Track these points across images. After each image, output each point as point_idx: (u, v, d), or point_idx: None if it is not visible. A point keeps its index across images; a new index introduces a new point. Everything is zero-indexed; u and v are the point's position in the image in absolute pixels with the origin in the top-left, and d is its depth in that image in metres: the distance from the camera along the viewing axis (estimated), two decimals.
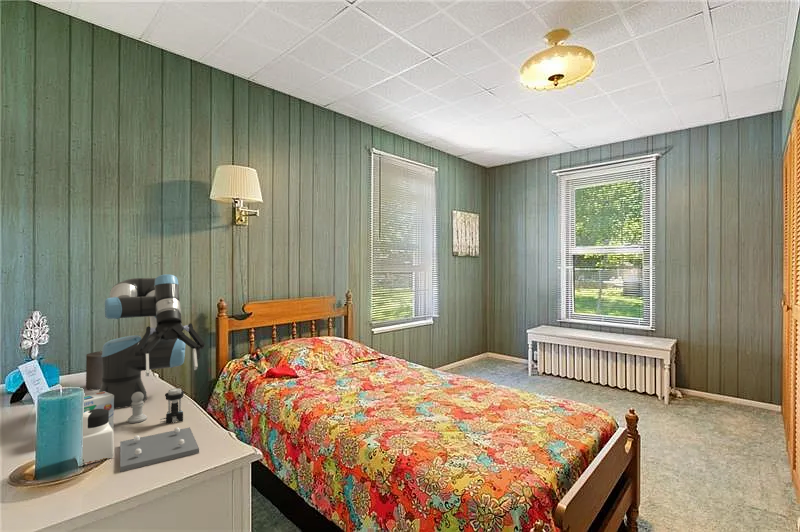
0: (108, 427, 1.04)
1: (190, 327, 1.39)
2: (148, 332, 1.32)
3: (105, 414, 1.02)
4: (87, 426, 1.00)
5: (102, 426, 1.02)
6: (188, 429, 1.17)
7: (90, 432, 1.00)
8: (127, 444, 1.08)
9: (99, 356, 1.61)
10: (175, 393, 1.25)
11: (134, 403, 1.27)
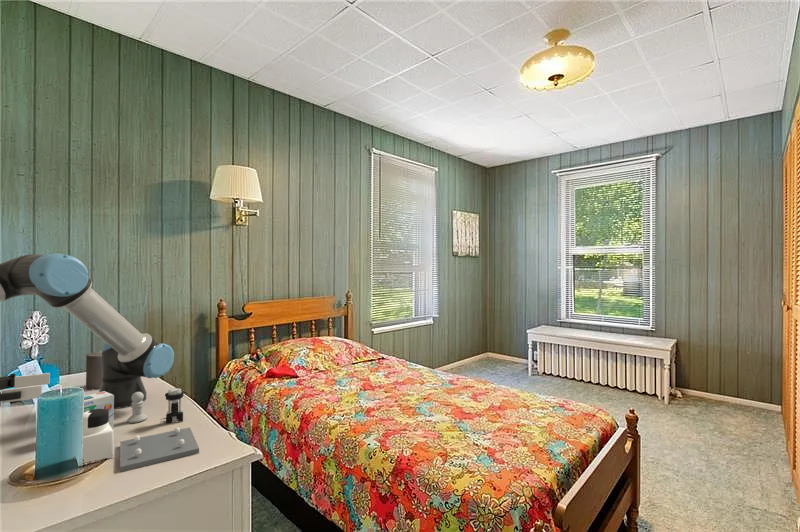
0: (108, 427, 1.04)
1: None
2: None
3: (105, 414, 1.02)
4: (87, 426, 1.00)
5: (102, 426, 1.02)
6: (188, 429, 1.17)
7: (90, 432, 1.00)
8: (127, 444, 1.08)
9: (99, 356, 1.61)
10: (175, 393, 1.26)
11: (134, 403, 1.27)
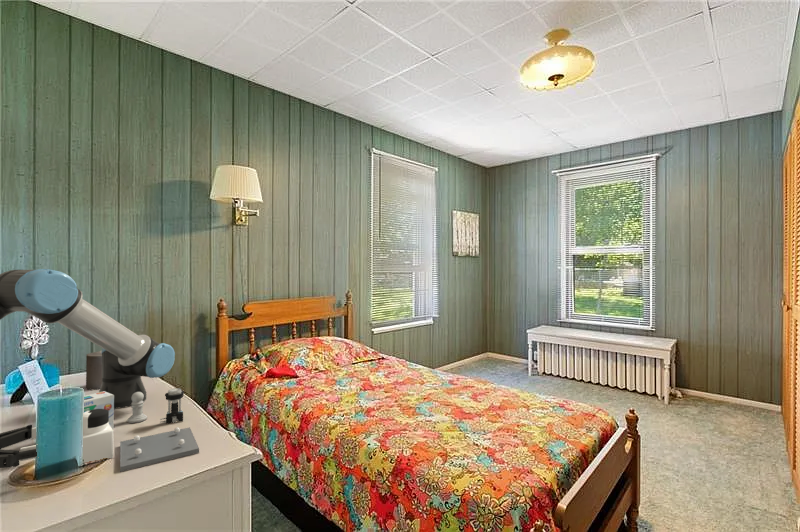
0: (108, 427, 1.04)
1: None
2: None
3: (105, 414, 1.02)
4: (87, 426, 1.00)
5: (102, 426, 1.02)
6: (188, 429, 1.17)
7: (90, 432, 1.00)
8: (127, 444, 1.08)
9: (99, 356, 1.61)
10: (175, 393, 1.25)
11: (134, 403, 1.27)
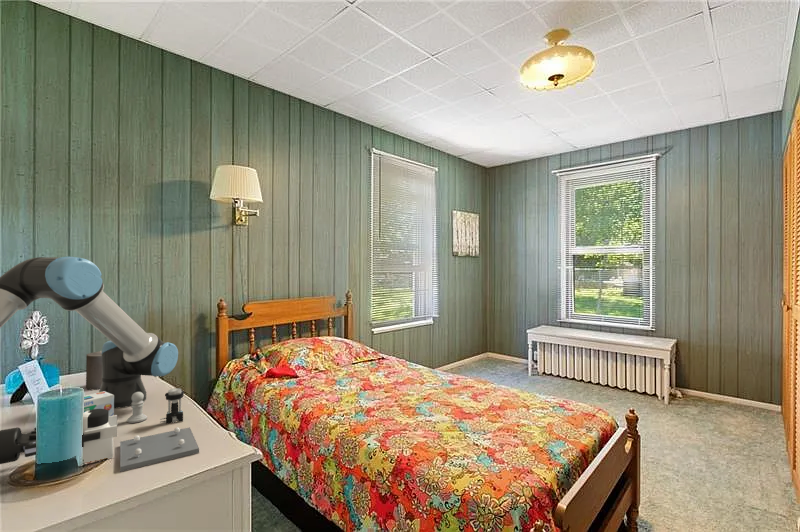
0: None
1: None
2: None
3: (105, 414, 1.02)
4: (86, 426, 0.99)
5: (102, 426, 1.02)
6: (188, 429, 1.17)
7: None
8: (127, 444, 1.08)
9: (99, 356, 1.61)
10: (175, 393, 1.26)
11: (134, 403, 1.27)
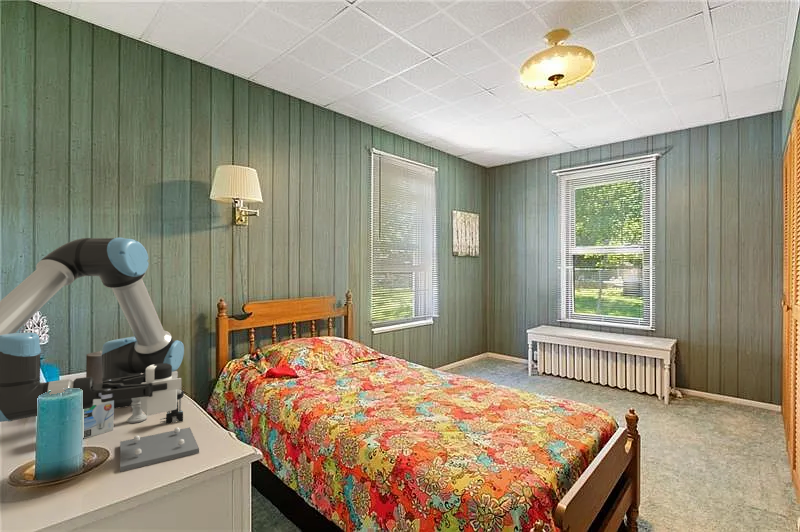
0: None
1: None
2: None
3: (169, 367, 1.07)
4: (153, 378, 1.04)
5: (167, 378, 1.06)
6: (188, 429, 1.17)
7: None
8: (127, 444, 1.08)
9: (99, 356, 1.61)
10: None
11: (134, 403, 1.27)
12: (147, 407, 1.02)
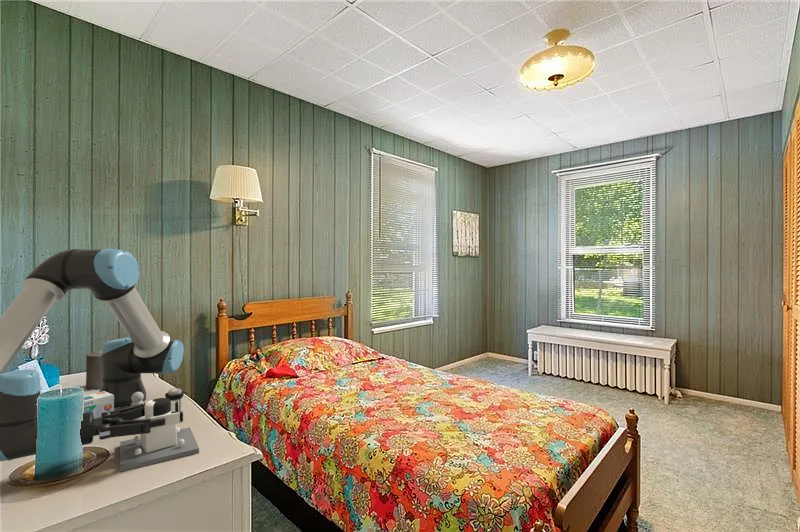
0: None
1: None
2: None
3: (168, 403, 1.07)
4: (152, 414, 1.04)
5: None
6: (188, 429, 1.17)
7: None
8: (127, 444, 1.08)
9: (99, 356, 1.61)
10: (175, 393, 1.25)
11: (134, 403, 1.27)
12: (146, 444, 1.02)
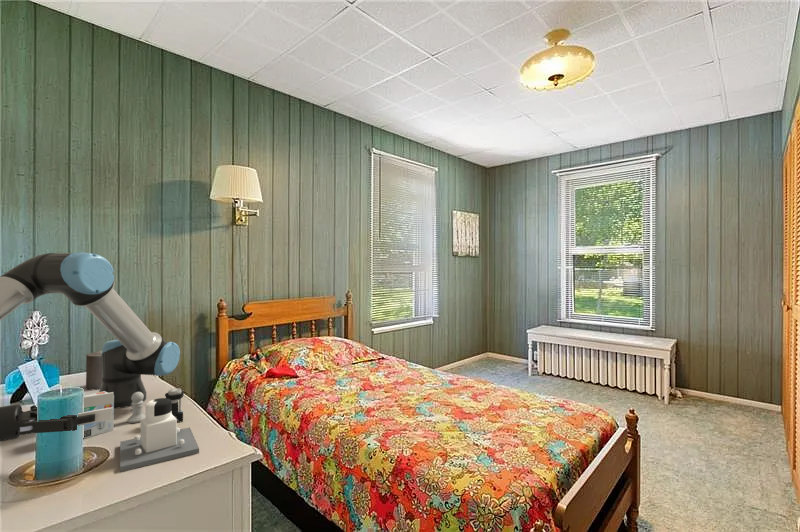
0: (171, 416, 1.09)
1: None
2: None
3: (169, 403, 1.07)
4: (153, 414, 1.04)
5: (167, 414, 1.06)
6: (188, 429, 1.17)
7: (156, 420, 1.05)
8: (127, 444, 1.08)
9: (99, 356, 1.61)
10: (175, 393, 1.25)
11: (134, 403, 1.27)
12: (147, 444, 1.02)
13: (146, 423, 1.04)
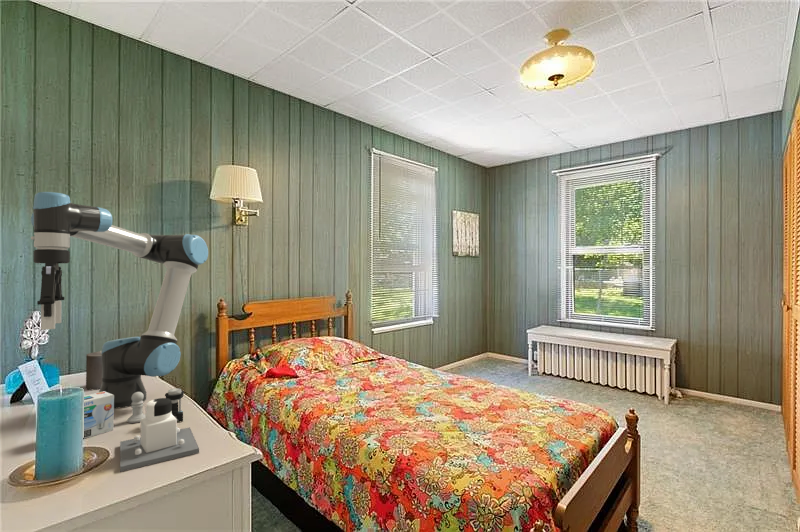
0: (171, 416, 1.09)
1: None
2: None
3: (169, 403, 1.07)
4: (153, 414, 1.04)
5: (167, 414, 1.06)
6: (188, 429, 1.17)
7: (156, 420, 1.05)
8: (127, 444, 1.08)
9: (99, 356, 1.61)
10: (175, 393, 1.25)
11: (134, 403, 1.27)
12: (147, 444, 1.02)
13: (146, 423, 1.04)
